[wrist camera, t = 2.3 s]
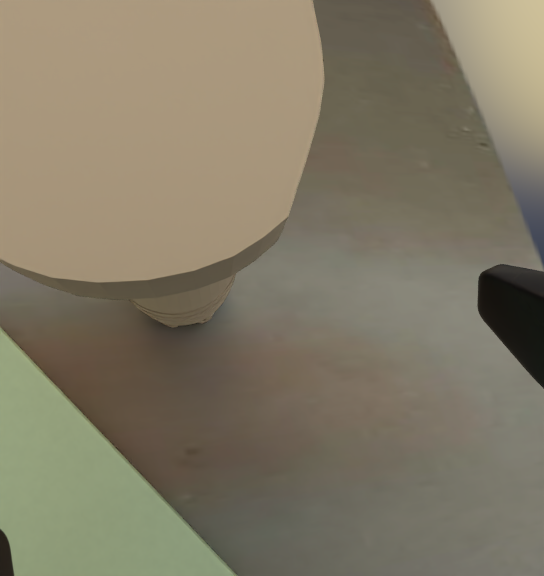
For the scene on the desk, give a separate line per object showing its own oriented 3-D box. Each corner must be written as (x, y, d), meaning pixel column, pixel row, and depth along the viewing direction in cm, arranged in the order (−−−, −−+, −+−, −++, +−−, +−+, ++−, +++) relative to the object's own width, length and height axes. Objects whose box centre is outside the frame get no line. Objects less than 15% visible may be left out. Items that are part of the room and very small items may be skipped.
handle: (232, 210, 22) (274, -188, 7) (254, 359, 20) (363, 253, 6) (116, 222, 21) (-104, -192, 6) (131, 378, 20) (-101, 310, 5)
